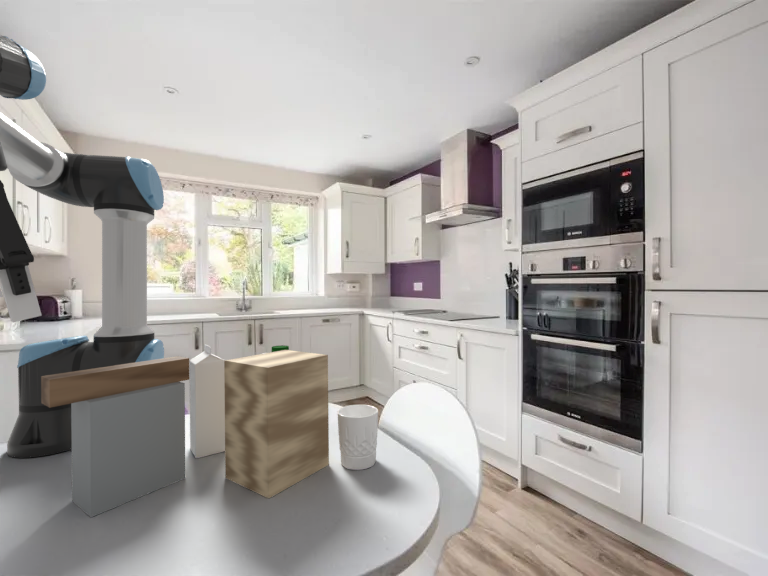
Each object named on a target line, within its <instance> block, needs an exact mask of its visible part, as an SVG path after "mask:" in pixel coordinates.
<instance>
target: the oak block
mask: <svg viewBox="0 0 768 576" xmlns="http://www.w3.org/2000/svg"><path fill="white" fill-rule="evenodd" d="M263 353H264V354H262V353H259V354H253V355H248V356H242V357H236V358H231V359H223V360H224V377H225V451H224V454H225V455H224V461H225V462H224V469H225V471H224V476H225V479H226V480H229V481H231V482H234V483H235V484H237V485H239V486H242V487H244V488H245V489H248V490H250V491H251V492H255V493H257V494H259V495H261V496H262V497H264V498H266V499H271V498H272V497H275V496H276V495H278V494H279V493H281V492H284V491H285V490H288V488H290V487H292V486H293V485H295V484H297V483H299V482H301V481H303V480H305V479H307V478H308V477H310V476H312V475H314V474H315V473H317V472H319V471H320V470H322V469H324V468H325V467H328V466H329V465H330V451H329V448H330V446H329V445H330V443H329V442H330V440H329V439H330V437H329V433H330V432H329V430H330V428H329V425H330V424H329V355H328V354H324V353H323V354H322V353H315V352H306V351H299V350H290V349H289V350H281V351H276V352H272V351H270V352H263Z"/></svg>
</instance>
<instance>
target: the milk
mask: <svg viewBox="0 0 768 576" xmlns="http://www.w3.org/2000/svg"><path fill="white" fill-rule="evenodd" d="M203 345H204V349H203V350H204V351H202V352H200V353H199V354H197V355H196V356H194V357H193V358H191V359H189V430H190V431H189V439H190V440H189V443H190V444H189V447H190V451H191V452H192V454H193V456H194V458H195V459H200V458H203V457H208V456H211V455H215V454H220V453H223V452H224V453H225V377H224V360H225V359H223V358H222V357H220V356H217V355H215V354H213V353H212V347H211V346H210V345H208V344H205V343H204V344H203Z"/></svg>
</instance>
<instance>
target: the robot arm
mask: <svg viewBox="0 0 768 576" xmlns="http://www.w3.org/2000/svg"><path fill="white" fill-rule="evenodd" d="M46 84H47V74H46V72H45V68H44V66H43V64H42V62H41V61H40V59H39V58H38V57H37V56H36V55H35V54H34V53H33V52H32V51H31V50H29V49H28V48H26V47H25V46H23V45H21V44H20V43H18V42H16V41H15V40H14V39H13V38H9V37H8V36H6V35H1V34H0V97H3V98H4V99H12V100H13V99H14V100H23V101H25V100H31V99H36V98H37V97H39V96H40V95H41V94H42V93H43V91H44V89H45V87H46ZM6 170H8V171H9V173H10V175H11V176H12V177H13V179H15V180H16V181H17V182H19V183H20V184H23V185H24V186H25V187H27V188H29V189H31V190H33V191H35V192H37V193H40V194H42V195H43V196H46V197H48V198H51V199H54V200H56V201H59V202H61V203H64V204H69V205H72V206H76V207H83V208H93V214H94V215H95V216H97V218H99V220H101V238H102V239H101V240H102V241H101V250H102V251H101V252H102V253H101V264H102V265H101V286H102V287H101V289H102V290H101V327H100V329H99V330H97V331H96V332H95V333H93V341H90V339H89V337H88V335H76V336H71V337H62V338H58V339H52V340H45V341H40V342H39V341H38V342H35V343H30V344H26V345H24V346H22V348H20V350H19V353H18V361H17V366H16V368H17V371H18V372H17V375H18V376H17V377H18V378H17V379H18V380H17V381H18V383H17V384H18V385H17V386H18V416H17V419H16V421H15V423H14V425H13V428H12V431H11V433H10V436H9V438H8V440H7V444H6V446H7V449H6V452H7V453H6V454H7V456H8V457H11V458H19V459H27V458H28V459H29V458H36V457H37V458H38V457H44V456H49V455H54V454H59V453H64V452H67V451H70V450H71V451H72V427H71V404H66V405H61V406H56V407H51V408H49V407H48V406H46V405H44V404H42V403H41V376H46V375H53V374H60V373H67V372H74V371H80V370H87V369H94V368H101V367H108V366H115V365H121V364H128V363H135V362H142V361H149V360H155V359H162V358H165V357H164V356H165V348H164V343H163V341H162V339H158V338H155V330H154V329H152V328H151V327H150V326H149V325H148V280H147V279H148V254H147V253H148V230H147V229H148V228H147V227H148V224H150V222H151V221H154V219H155V211H159V210H161V209H162V208H163V207H164V204H165V203H164V202H165V201H164V200H165V199H164V197H165V196H164V195H165V194H164V188H163V186H162V181H161V178H160V175H159V173H158V171H157V169H156V167H155V166H154V165H153V164H152V163H151V162H150V161H149V160H148V159H144V158H138V157H131V156H114V155H95V154H82V153H81V154H80V153H79V154H78V153H71V152H65V151H61V150H58V149H57V148H55V147H54V146H52V145H50V144H48V143H45V142H42V141H39V140H37V139H36V138H35V137H33V136H32V135H30V134H29V133H28V132H26V131H25V130H23V128H22V127H20V126H19V125H17V124H16V123H15V122H14V121H12V120H11V119H10V118H9V117H7V116H6V115H4V114H3V113H2V112H1V111H0V172H5V171H6ZM34 262H35V258H34V255H33V253H32V251H31V249H30V247H29V244H28V242H27V240H26V237H25V235H24V233H23V231H22V229H21V227H20V225H19V222H18V220H17V217H16V215H15V213H14V211H13V208H12V207H11V204H10V202H9V199H8V197H7V193H6V190H5V185H4V183H3V182H2V180H1V179H0V298H3V299H4V302H5V306H6V310H7V311H8V312H7V313H8V316H9V319H10V322H12V323H16V322H21V321H25V320H29V319H33V318H34V319H35V318H37V317H42V315H43V314H42V312H41V308H40V305H39V301H38V300H39V299H38V297H37V294H36V290H35V287H34V283H33V279H32V275H31V272H30V268H29V267H30V266H29V265H30V264H31V263H34Z"/></svg>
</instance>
